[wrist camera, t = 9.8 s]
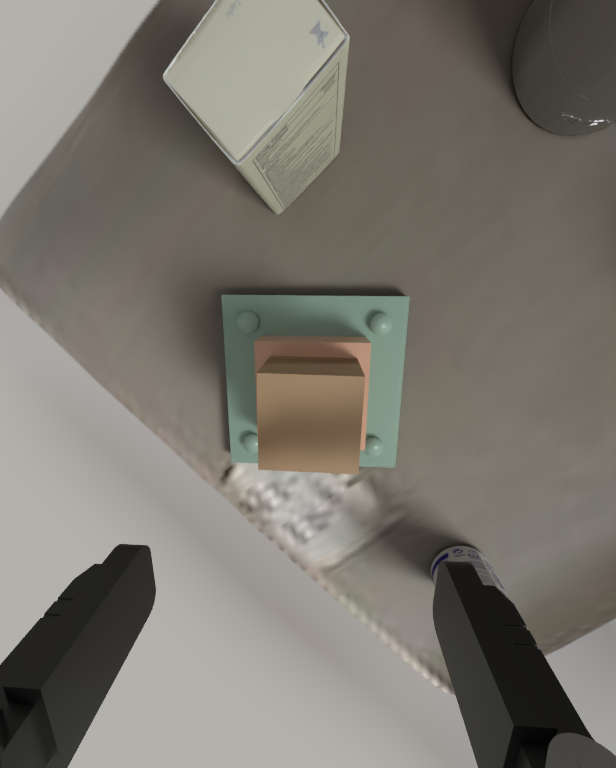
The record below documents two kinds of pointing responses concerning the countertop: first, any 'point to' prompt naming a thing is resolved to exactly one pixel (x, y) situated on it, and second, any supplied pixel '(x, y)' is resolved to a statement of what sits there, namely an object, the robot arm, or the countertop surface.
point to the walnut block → (310, 414)
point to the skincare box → (267, 89)
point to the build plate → (317, 322)
